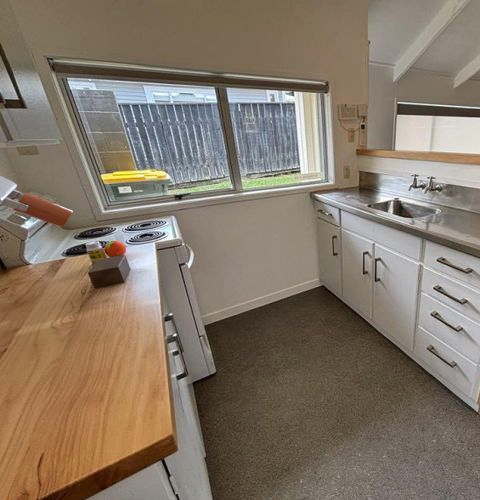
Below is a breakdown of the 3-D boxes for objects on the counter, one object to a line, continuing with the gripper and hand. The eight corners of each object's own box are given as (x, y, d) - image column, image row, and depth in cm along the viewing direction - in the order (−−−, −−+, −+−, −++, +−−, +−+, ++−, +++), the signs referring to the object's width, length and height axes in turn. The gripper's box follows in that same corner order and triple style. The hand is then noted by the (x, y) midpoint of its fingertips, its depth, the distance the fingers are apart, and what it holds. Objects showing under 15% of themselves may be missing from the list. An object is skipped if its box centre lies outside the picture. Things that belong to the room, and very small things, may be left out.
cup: (10, 212, 80) (22, 194, 80) (14, 206, 84) (26, 190, 84) (61, 229, 88) (72, 213, 88) (62, 223, 92) (73, 208, 92)
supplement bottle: (90, 266, 109) (81, 245, 106) (94, 261, 113) (86, 242, 110) (105, 263, 111) (97, 243, 108) (109, 259, 115) (101, 239, 112)
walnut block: (94, 289, 92) (87, 272, 90) (104, 274, 102) (97, 259, 99) (124, 282, 95) (118, 266, 93) (130, 269, 105) (125, 254, 103)
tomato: (122, 260, 113) (116, 243, 111) (102, 262, 112) (95, 246, 109) (131, 252, 121) (125, 237, 118) (113, 255, 119) (106, 239, 116)
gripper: (-51, 175, 67) (30, 205, 77) (-24, 161, 81) (41, 188, 91) (-67, 197, 67) (16, 224, 77) (-37, 179, 81) (29, 205, 91)
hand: (30, 205), depth 84 cm, fingers closed on cup, 6 cm apart
